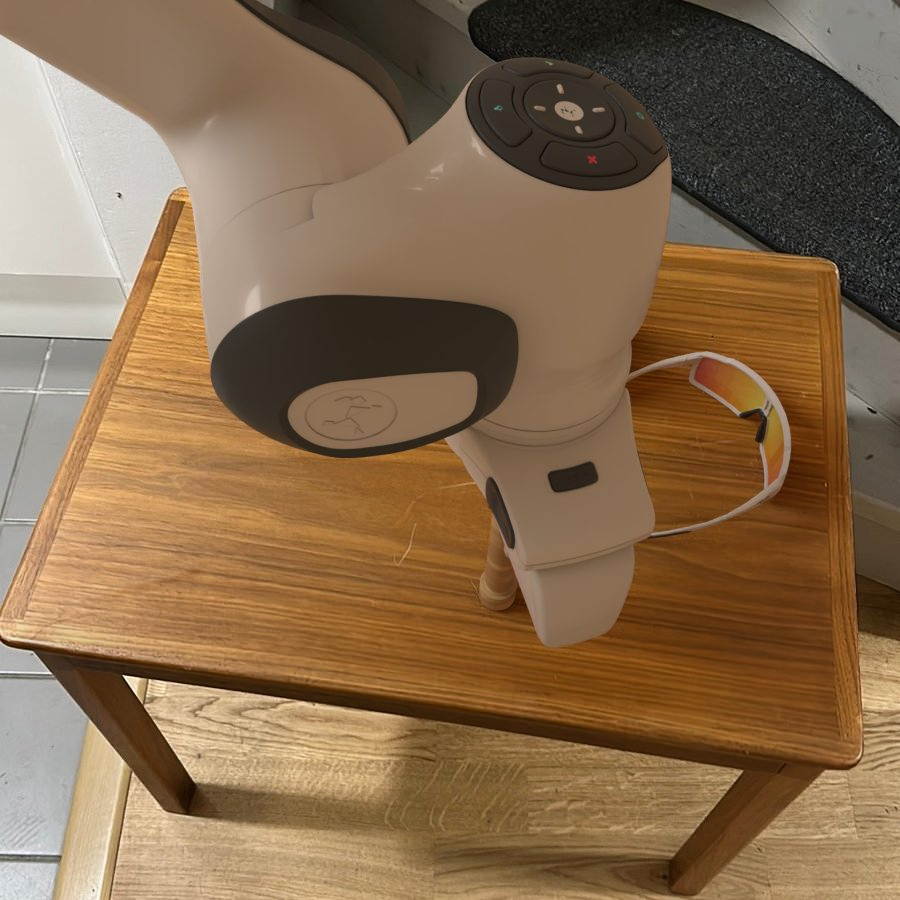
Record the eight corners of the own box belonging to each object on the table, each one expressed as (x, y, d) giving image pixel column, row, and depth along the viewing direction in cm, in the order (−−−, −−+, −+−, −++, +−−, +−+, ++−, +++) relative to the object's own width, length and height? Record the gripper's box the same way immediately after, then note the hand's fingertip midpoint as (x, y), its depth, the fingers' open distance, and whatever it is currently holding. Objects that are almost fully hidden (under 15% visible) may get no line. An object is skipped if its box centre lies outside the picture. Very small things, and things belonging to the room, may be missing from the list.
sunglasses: (813, 500, 70) (829, 469, 65) (631, 574, 69) (634, 548, 64) (721, 359, 77) (729, 323, 72) (554, 425, 76) (552, 392, 71)
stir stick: (485, 615, 65) (503, 469, 48) (474, 582, 66) (487, 428, 49) (520, 605, 65) (551, 457, 48) (508, 572, 66) (534, 417, 49)
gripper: (406, 247, 49) (411, 398, 61) (535, 593, 39) (511, 693, 50) (518, 224, 50) (502, 376, 62) (673, 554, 40) (618, 661, 51)
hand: (507, 521), depth 56 cm, fingers closed on stir stick, 2 cm apart
